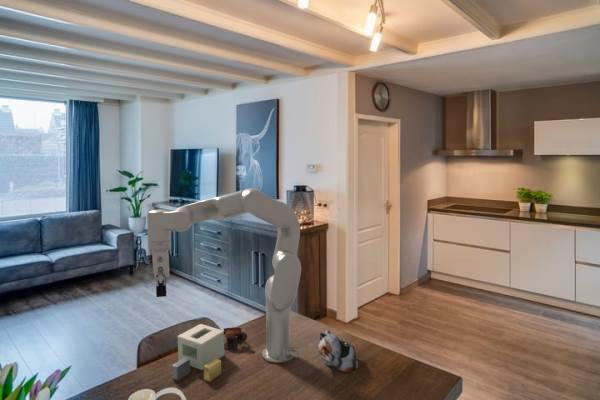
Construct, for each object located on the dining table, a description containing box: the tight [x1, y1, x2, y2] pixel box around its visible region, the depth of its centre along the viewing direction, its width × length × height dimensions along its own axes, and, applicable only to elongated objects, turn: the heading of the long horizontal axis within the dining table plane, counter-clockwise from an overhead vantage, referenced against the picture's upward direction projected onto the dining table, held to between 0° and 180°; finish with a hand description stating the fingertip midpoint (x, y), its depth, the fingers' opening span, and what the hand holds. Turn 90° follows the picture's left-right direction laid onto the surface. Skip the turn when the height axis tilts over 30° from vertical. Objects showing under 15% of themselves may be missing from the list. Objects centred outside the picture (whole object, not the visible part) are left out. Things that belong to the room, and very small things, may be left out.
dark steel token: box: [171, 358, 191, 381], centre depth 135 cm, size 2×6×5 cm, turn 151°
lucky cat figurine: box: [318, 330, 359, 374], centre depth 141 cm, size 15×12×14 cm
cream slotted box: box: [177, 323, 225, 371], centre depth 146 cm, size 12×12×10 cm
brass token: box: [203, 358, 222, 382], centre depth 134 cm, size 2×6×5 cm, turn 150°
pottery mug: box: [223, 326, 248, 350], centre depth 157 cm, size 12×10×8 cm
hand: (161, 291), depth 136 cm, fingers open, 9 cm apart
